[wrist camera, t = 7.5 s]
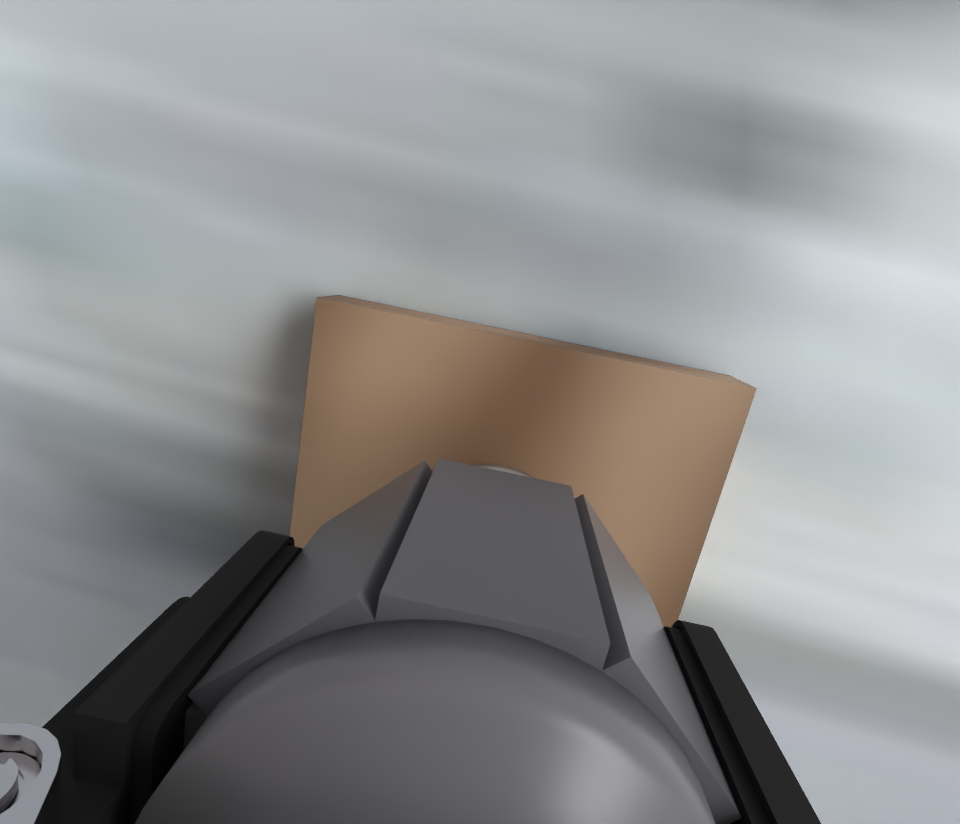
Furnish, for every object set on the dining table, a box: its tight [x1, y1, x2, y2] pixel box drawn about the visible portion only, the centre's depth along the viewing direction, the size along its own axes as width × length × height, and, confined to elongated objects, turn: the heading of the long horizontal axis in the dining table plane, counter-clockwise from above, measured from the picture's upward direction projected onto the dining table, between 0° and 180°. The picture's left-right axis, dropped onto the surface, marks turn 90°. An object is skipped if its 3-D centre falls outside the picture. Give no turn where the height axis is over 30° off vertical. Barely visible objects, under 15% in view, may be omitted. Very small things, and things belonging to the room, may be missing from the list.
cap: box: [135, 458, 742, 824], centre depth 7 cm, size 6×6×5 cm
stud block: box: [290, 295, 757, 627], centre depth 12 cm, size 10×10×5 cm
